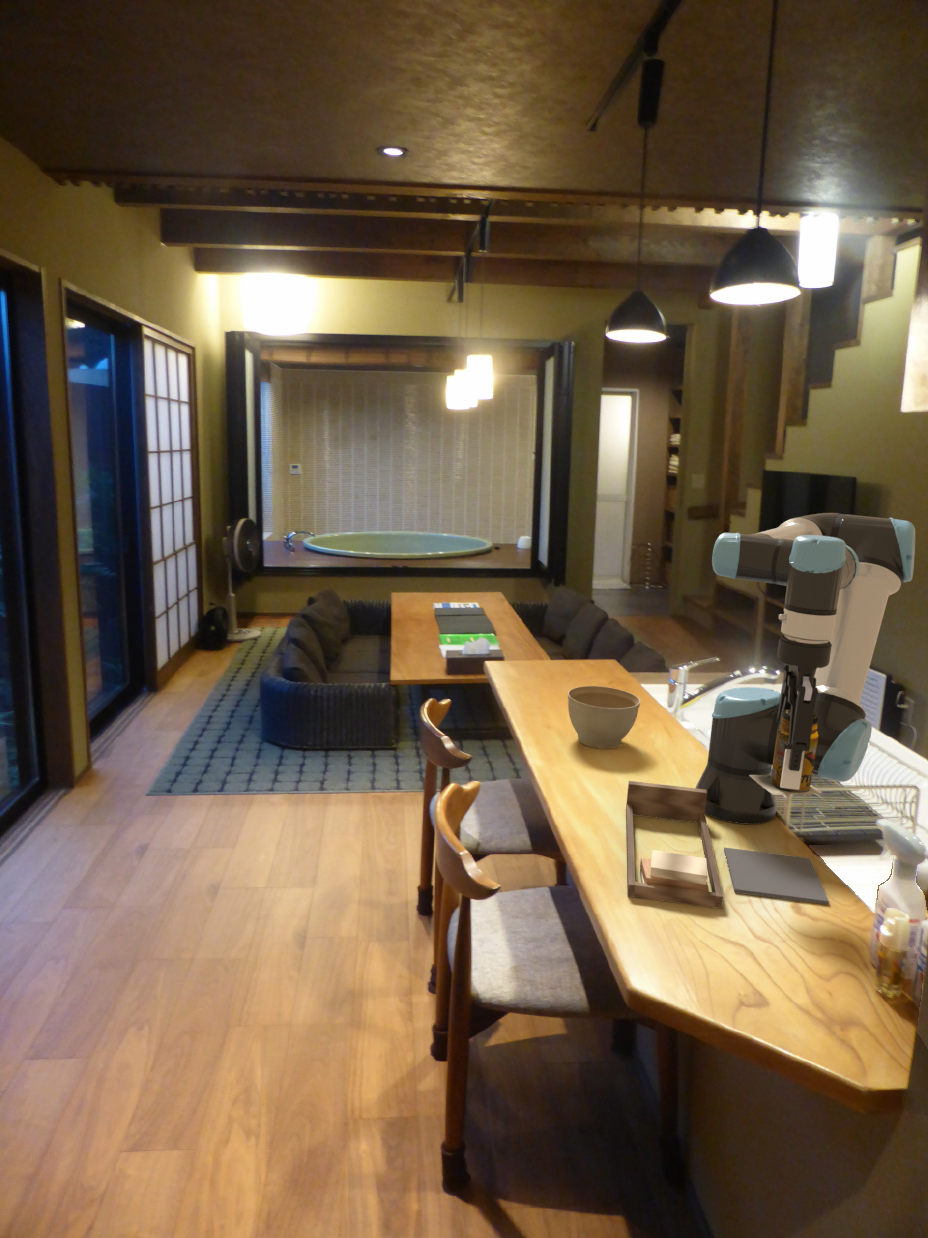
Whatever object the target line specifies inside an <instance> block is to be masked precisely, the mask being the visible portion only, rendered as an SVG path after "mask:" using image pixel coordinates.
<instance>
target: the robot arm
mask: <svg viewBox="0 0 928 1238" xmlns="http://www.w3.org/2000/svg"><path fill="white" fill-rule="evenodd" d="M915 554H916V528H915V525H914V524H913V523H912V522H911V521H908V520H902V519H897V518H893V517H889V518H884V517H876V516H875V517H874V516H865V515H855V514H844V513H839V512H822V513H816V514H815V513H813V514H809V515H808V514H807V515H803V516H799V517H794V518H793V517H792V518H790V519H788V520H786V521H783V523H781V524H780V525H779V526H778V527H776V528H771V529H767V530H765V531H760V532H757V533H751V534H746V533H745V534H743V533H740V532H736V533H735V532H723V533H720V534H719V536H717V539H716V540H715V543H714V546H713V550H712V555H711V556H712V558H711V565H712V570H713V572H714V573H715V574H716V575H717V576H720V577H724V578H725V577H726V578H730V579H732V580H735V579H738V580H745V581H752V582H761V583H768V584H775V585H780V586H784V587H785V586H786V591H785V597H784V598H785V599H784V604H783V613H780V614H778V619H779V621H781V622H782V623H781V628H780V632H781V634H782V635H781V636H780V637H779V639H778V647H777V653H776V654H777V655H776V657H777V659H778V660H779V661H780V662H781V663H784V666H783V674H782V675H783V676H782V684H781V691H780V692H779V691H777V690H774V689H771V688H765V687H755V686H754V687H753V686H752V687H751V686H750V687H749V686H748V687H745V686H744V687H736V688H733V687H732V688H728V689H726V690H723V691H721V692H720V693H718V695H717V696H716V698H715V701H714V702H715V703H714V708H713V712H712V713H711V717H712V720H711V729H710V739H709V745H708V755H707V761H706V762H707V763H706V766H705V768H704V770H703V771H702V774H701V775H700V777H699V780H698V782H697V784H696V786H695V788H696V789H705V790H707V798H706V806H705V815H707V816H710V817H713V818H714V819H718V820H721V821H726V822H727V823H728V822H729V823H734V824H743V825H760V824H765V823H768V822H770V821H772V820H773V819H774V818H775V817H776V813H777V807H778V806H777V803H778V802H777V797H776V795H773V794H772V793H770V792H768V791H767V790H766V789H765V788H762V786H761V785H759V784H758V783H757V782H756V781H755V780H753V779H752V778H751V777H750V776H749V775H767V774H769V775H771V773H772V766H773V758H774V751H775V744H776V737H777V730H778V727H779V726H780V725H781V720H782V714H783V712H784V711H785V710H787V709H791V711H790V725H789V738H788V745H783V749H785V755H784V762H783V769H782V776H781V783H780V787H781V788H788V789H796V790H799V788H800V781H801V774H802V767H803V761H804V754H805V751H809V749H810V739H811V731H812V723H813V716H814V714H816V715H817V717H818V723H817V730H816V731H817V733H818V742H817V748H816V755H815V761H814V769H813V775H812V777H817V778H818V779H820V780H821V779H822V780H831V781H835V782H841V783H843V782H847V781H850V780H851V779H853V777H854V776H855V775H856V774H857V772H858V771H859V768H861V765H862V762H863V760H864V757H865V755H866V752H867V751H868V748H869V742H870V740H871V736H872V728H873V727H872V724H871V722H870V721H868V720H867V719H866V716H867V712H866V710H865V708H864V707H863V706H862V704H861V699H862V695H863V692H864V689H865V685H866V681H867V678H868V677H867V676H868V673H869V671H870V670H869V669H870V667H871V662H872V658H873V655H874V651H875V648H876V643H877V640H878V637H879V633H880V630H881V625H882V621H883V618H884V615H885V612H886V611H885V610H886V607H887V603H888V599H889V596H891V595H893V594H896V593H897V592H898V591H899V590H900V588H901V586H902V582H903V583H907V582H908V583H909V582H911V581H912V580H913V576H914V570H915V569H914V567H915ZM814 670H815V672H814Z"/></svg>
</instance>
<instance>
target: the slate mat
mask: <svg viewBox="0 0 928 1238" xmlns="http://www.w3.org/2000/svg"><path fill="white" fill-rule="evenodd" d="M723 852H724V857H725V856H726V857H725V860H726V859H727V861H726V865H727V864H728V865H727V869H728V868H729V869H728V872H729V876H730V881H731V884H732V888H733V889H732V890H733V892H734V893H735V894H744V895H752V896H759V897H767V898H772V899H773V898H774V899H780V900H781V899H783V900H790V901H798V902H804V903H814V904H820V905H826V906H827V905H828V906H829V905H830V904H829V903H830V900H829V898H828V896H827V892H826V891H825V889H824V887H823V885H822V882H821V880H820V878H819V876H818V874H817V871H816V869H815V867H814V864H813V862H812V860H811V857H805V856H795V855H788V854H780V853H772V852H764V851H757V850H748V849H740V848H732V847H726V846H725V847H724V848H723Z"/></svg>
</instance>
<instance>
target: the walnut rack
mask: <svg viewBox="0 0 928 1238" xmlns="http://www.w3.org/2000/svg"><path fill="white" fill-rule="evenodd" d="M626 795H627V796H626V804H625V833H626V834H625V836H626V837H625V839H626V847H625V848H626V882H627V883H626V885H627V887H626V889H627V892H626V893H627V897H630V898H639V899H645V900H654V901H660V902H661V901H662V902H669V903H677V904H684V905H692V906H700V907H704V908H706V907H707V908H713V909H723V902H724V893H723V890H722V885H721V880H720V876H719V872H718V866H717V863H716V858H715V854H714V849H713V844H712V839H711V836H710V832H709V827H708V822H707V818H706V813H705V806H706V798H707V790H705V789H696V787H686V786H685V787H684V786H676V785H667V784H659V783H650V782H643V781H634V780H628V784H627V794H626ZM634 816H640V817H647V818H654V819H655V818H656V819H664V820H672V821H680V822H688V823H695V824H696V823H697V826H698V830H699V836H700V841H701V840H702V841H701V845H702V851H703V855H705V856H704V858H706V862H707V877H708V880H709V885H710V890H711V891H709V892H708V891H701V890H693V889H685V888H678V887H670V886H663V885H655V884H647V883H641V881H640V882H638V881H636V868H635V867H636V866H635V865H636V864H635V839H634V837H635V836H634Z"/></svg>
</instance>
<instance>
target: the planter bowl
mask: <svg viewBox="0 0 928 1238" xmlns="http://www.w3.org/2000/svg"><path fill="white" fill-rule="evenodd" d="M567 699H568V701H567V704H568V705H567V706H568V709H567V710H568V715H569V719H570V722H571V725H572V727H573V729H574V731H575V733H577V739H578V741H579V742H580V743H581V744H583V745H585V746H587V747H590V748H595V749H603V750H604V749H605V750H607V749H613V748H614V749H615V748H617V747H619V746H620V745H621V743H622V740H623V739H625V737H626V736H628V734H629V733H630V731H631V730H632V729H633V727H634V725H635V722H636V720H637V717H638V714H639V708H640V706H641V699H640V698H639V697H638V696H637V695H635V694H634V693H632V692H629V691H626V690H622V689H619V688H614V687H609V686H604V685H603V686H600V685H583V686H577V687H574V688H572V689H569V690H568V692H567Z"/></svg>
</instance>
